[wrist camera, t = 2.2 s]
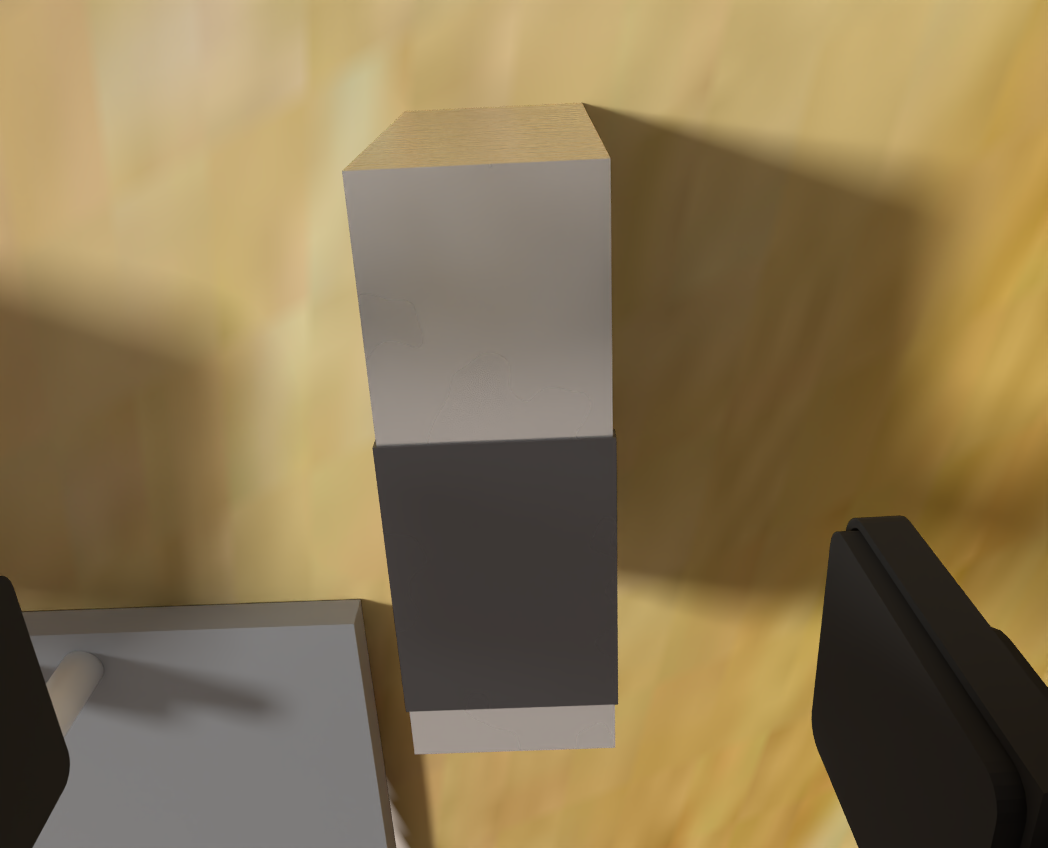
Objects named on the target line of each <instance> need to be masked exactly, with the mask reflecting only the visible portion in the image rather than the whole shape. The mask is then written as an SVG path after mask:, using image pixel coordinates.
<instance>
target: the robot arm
mask: <svg viewBox="0 0 1048 848" xmlns="http://www.w3.org/2000/svg"><path fill="white" fill-rule="evenodd" d="M812 729H813V735H814V739H815V743H816V746H817V749H818V752H819V754H820V756H821V759H822V761H823V764H824V766H825V768H826V771H827V773H828V776H829V778H830V780H831V783H832V785H833V787H834V790H835V792H836V795H837V797H838V799H839V802H840V804H841V807H842V809H843V811H844V814H845V816H846V819H847V821H848V823H849V826H850V828H851V831H852V833H853V835H854V838H855V840H856V843H857V845H858V847H859V848H1048V687H1047V686H1046V685H1045V683H1044V682H1043V681H1042V680H1041V678H1040V677H1039V676H1038V674H1037V673H1036V672H1035V671H1034V669H1033V668H1032V667H1031V665H1030V664H1029V663H1028V662H1027V660H1026V659H1025V658H1024V657H1023V655H1022V654H1021V653H1020V651H1019V650H1018V649H1017V648H1016V646H1015V645H1014V644H1013V642H1012V641H1011V640H1010V639H1009V638H1008V637H1007V636H1006V635H1005V634H1004V633H1003V632H1002V631H1001V630H998V629H995V628H993V627H991V626H990V625H989V624H988V623H987V621H986V620H985V619H984V617H983V616H982V615H981V613H980V612H979V611H978V610H977V608H976V607H975V606H974V604H973V603H972V602H971V600H970V599H969V598H968V597H967V595H966V594H965V593H964V591H963V590H962V589H961V587H960V586H959V585H958V584H957V582H956V581H955V580H954V578H953V577H952V576H951V574H950V573H949V572H948V571H947V569H946V568H945V567H944V565H943V564H942V563H941V561H940V560H939V559H938V557H937V556H936V555H935V554H934V552H933V551H932V550H931V548H930V547H929V546H928V544H927V543H926V542H925V541H924V539H923V538H922V537H921V535H920V534H919V533H918V531H917V530H916V529H915V528H914V526H913V525H912V524H911V522H910V521H909V520H908V519H907V518H906V517H905V516H884V517H865V518H853V519H851V520H850V521H849V523H848V525H847V528H846V531H840V532H835V533H834V534H833V536H832V538H831V543H830V551H829V560H828V569H827V579H826V588H825V597H824V606H823V615H822V624H821V633H820V643H819V652H818V661H817V670H816V679H815V688H814V698H813V707H812ZM69 771H70V757H69V752H68V749H67V746H66V743H65V740H64V737H63V734H62V731H61V728H60V725H59V722H58V719H57V716H56V713H55V710H54V707H53V704H52V701H51V698H50V695H49V692H48V689H47V686H46V683H45V680H44V677H43V674H42V671H41V668H40V665H39V662H38V659H37V656H36V653H35V650H34V647H33V644H32V641H31V638H30V635H29V632H28V629H27V626H26V623H25V620H24V617H23V614H22V611H21V608H20V605H19V602H18V599H17V596H16V593H15V591H14V588H13V586H12V583H11V581H10V580H9V579H8V578H7V577H4V576H0V848H33V846H34V844H35V842H36V841H37V839H38V837H39V835H40V833H41V831H42V829H43V828H44V826H45V824H46V822H47V820H48V818H49V816H50V815H51V813H52V811H53V809H54V807H55V805H56V804H57V802H58V800H59V798H60V796H61V794H62V792H63V791H64V789H65V786H66V784H67V781H68V777H69Z"/></svg>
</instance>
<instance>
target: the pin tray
mask: <svg viewBox="0 0 1048 848" xmlns="http://www.w3.org/2000/svg"><path fill="white" fill-rule="evenodd" d="M22 614H23V617H24V620H25V623H26V626H27V629H28V632H29V635H30V638H31V641H32V644H33V647H34V650H35V653H36V656H37V659H38V662H39V665H40V668H41V671H42V674H43V677H44V680H45V683H46V686H47V689H48V692H49V695H50V698H51V701H52V704H53V707H54V710H55V713H56V716H57V719H58V722H59V725H60V728H61V731H62V734H63V737H64V740H65V743H66V746H67V749H68V752H69V757H70V771H69V777H68V781H67V784H66V786H65V789H64V791H63V792H62V794H61V796H60V798H59V800H58V802H57V804H56V805H55V807H54V809H53V811H52V813H51V815H50V816H49V818H48V820H47V822H46V824H45V826H44V828H43V829H42V831H41V833H40V835H39V837H38V839H37V841H36V842H35V844H34V846H33V848H396V843H395V836H394V829H393V822H392V815H391V808H390V801H389V794H388V787H387V780H386V774H385V767H384V760H383V753H382V746H381V739H380V732H379V725H378V718H377V711H376V704H375V697H374V690H373V683H372V676H371V669H370V662H369V655H368V648H367V641H366V634H365V627H364V620H363V613H362V606H361V599H359V600H333V601H306V602H279V603H252V604H225V605H198V606H171V607H144V608H117V609H90V610H63V611H37V612H22Z"/></svg>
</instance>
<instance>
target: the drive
mask: <svg viewBox="0 0 1048 848" xmlns="http://www.w3.org/2000/svg"><path fill="white" fill-rule="evenodd" d="M342 174H343V182H344V190H345V198H346V206H347V214H348V222H349V230H350V238H351V246H352V254H353V262H354V270H355V278H356V286H357V294H358V302H359V310H360V319H361V327H362V335H363V343H364V351H365V359H366V367H367V375H368V383H369V391H370V399H371V407H372V415H373V423H374V431H375V442H374V445H373V455H374V463H375V471H376V479H377V487H378V495H379V503H380V510H381V518H382V526H383V534H384V542H385V550H386V558H387V566H388V574H389V581H390V589H391V597H392V605H393V613H394V621H395V629H396V637H397V645H398V652H399V660H400V668H401V676H402V684H403V692H404V700H405V708H406V712H410V719H411V727H412V735H413V743H414V751H415V754H440V753H469V752H499V751H528V750H558V749H588V748H615V705H618V628H617V455H616V434H615V429H613V409H612V278H611V158H610V156H609V154H608V152H607V150H606V149H605V147H604V145H603V143H602V141H601V139H600V137H599V135H598V133H597V131H596V129H595V127H594V125H593V123H592V121H591V120H590V118H589V116H588V114H587V112H586V110H585V108H584V106H583V104H582V103H565V104H545V105H524V106H503V107H483V108H462V109H441V110H421V111H405V112H404V113H402V114H401V115H400V116H399V117H398V118H397V119H396V120H395V121H394V122H393V123H392V124H391V125H390V126H389V127H388V128H387V129H386V130H385V131H384V132H383V133H381V134H380V135H379V136H378V137H377V138H376V139H375V140H374V141H373V142H372V143H371V144H370V145H369V146H368V147H367V148H366V149H365V150H364V151H363V152H362V153H361V154H359V155H358V156H357V157H356V158H355V159H354V160H353V161H352V162H351V163H350V164H349V165H348V166H347V167H346V168H345V169H344V170H343V171H342Z"/></svg>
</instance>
